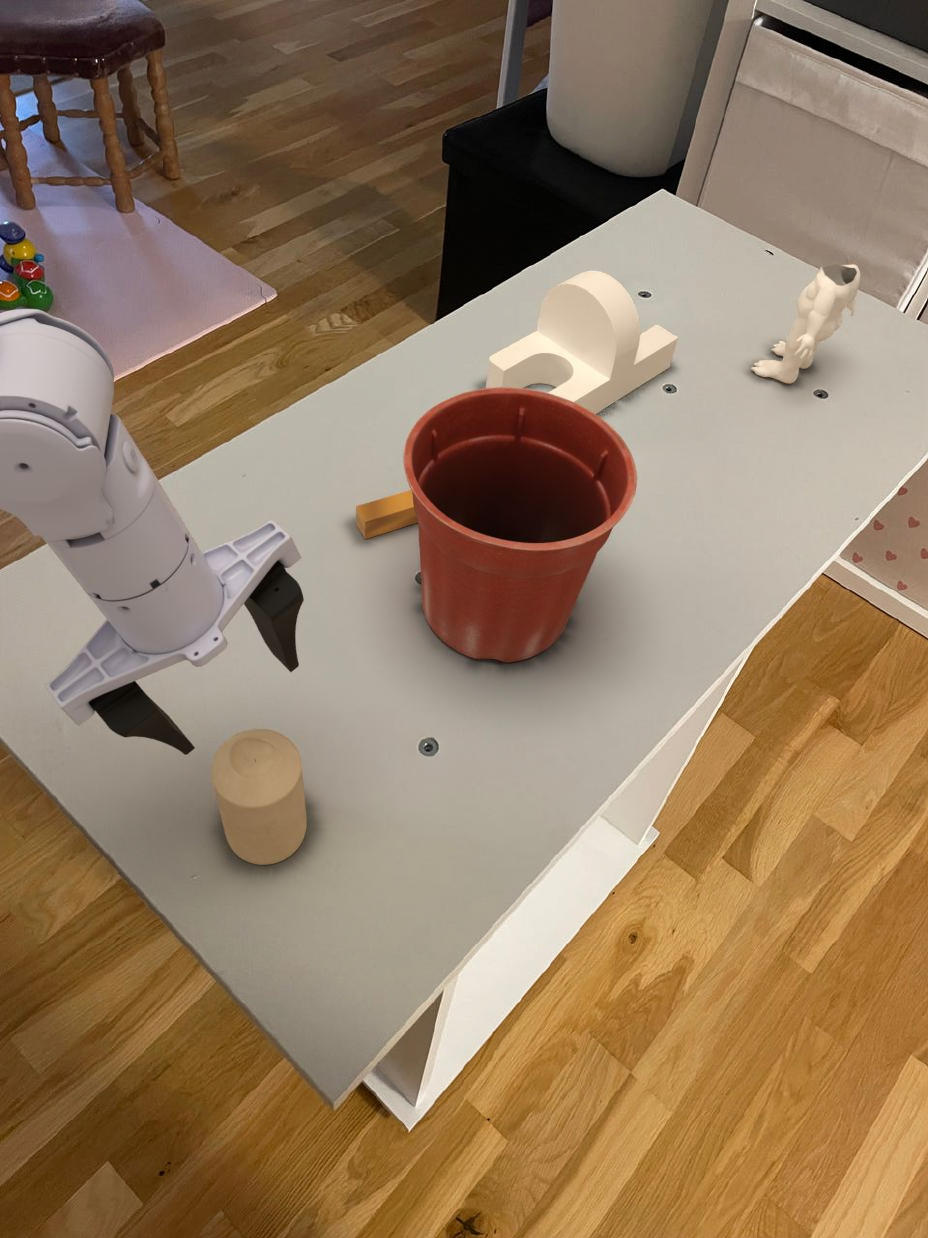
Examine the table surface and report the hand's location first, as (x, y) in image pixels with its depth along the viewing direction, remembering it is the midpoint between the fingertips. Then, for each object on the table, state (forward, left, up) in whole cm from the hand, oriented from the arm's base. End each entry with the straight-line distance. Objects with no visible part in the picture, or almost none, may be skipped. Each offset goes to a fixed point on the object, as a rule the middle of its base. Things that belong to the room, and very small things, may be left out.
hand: (235, 700), depth 59 cm
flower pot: (+24, +9, -13) cm, 29 cm away
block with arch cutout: (+46, +32, -13) cm, 58 cm away
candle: (0, -2, -13) cm, 14 cm away
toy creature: (+68, +25, -13) cm, 74 cm away
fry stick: (+24, +21, -13) cm, 34 cm away
